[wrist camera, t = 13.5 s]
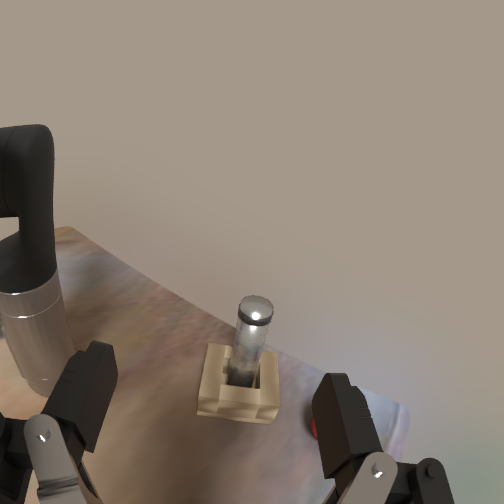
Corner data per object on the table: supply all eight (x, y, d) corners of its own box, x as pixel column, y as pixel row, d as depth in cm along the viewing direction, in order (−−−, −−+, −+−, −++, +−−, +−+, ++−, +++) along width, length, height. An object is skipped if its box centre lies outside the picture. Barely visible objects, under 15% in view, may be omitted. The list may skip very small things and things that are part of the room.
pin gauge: (223, 397, 36) (238, 312, 30) (225, 377, 40) (240, 292, 34) (251, 401, 37) (275, 317, 30) (251, 381, 40) (273, 297, 34)
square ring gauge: (196, 414, 34) (198, 395, 32) (206, 363, 43) (208, 342, 41) (272, 424, 34) (280, 406, 33) (270, 372, 44) (276, 352, 42)
